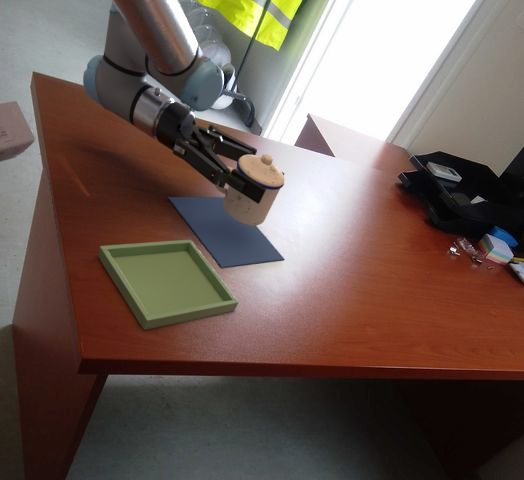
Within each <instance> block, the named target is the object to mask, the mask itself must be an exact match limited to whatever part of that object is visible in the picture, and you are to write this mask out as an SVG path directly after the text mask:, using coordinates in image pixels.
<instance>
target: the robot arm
mask: <svg viewBox="0 0 524 480" xmlns="http://www.w3.org/2000/svg"><path fill="white" fill-rule="evenodd" d="M108 13H109V15H108V21H107V30H106V37H105V42H104V50H103V54H97V55H95V56H92V57H91V59H89V61H88V62H87V63H86V65H87V67H86V69H85V70H84V71H83V76H82V85H83V90H84V91H85V93H86V95H87V96H88V97H89V98H90V99H92V100H93V101H95V102H96V103H97V104H99V105H100V106H101V107H102V108H103V109H104V110H107V111H108V112H111V113H113V114H114V115H116V116H118V117H119V118H120V119H122V120H124V121H126V122H127V123H129V124H131V125H132V126H133V127H135V128H136V129H138V130H139V131H141V132H142V133H144V134H145V135H146V136H148V137H150V138H151V139H153V140H157V142H158V143H159V144H161V145H163V146H164V147H166V148H167V149H169V150H171V151H172V154H173V155H174V156H176V157H178V158H180V159H181V160H182V161H184V162H186V163H187V164H188V165H189V166H190V167H192V168H193V169H194V170H195V171H196V172H197V173H198V174H200V175H201V176H203V177H204V178H205V179H206V180H208V181H209V182H210V183H211V184H212V185H214V186H215V185H218V183H219V185H218V186H219V187H221V188H225V187H226V185H227V186H228V187H229V186H231V187H232V188H234V189H235V190H237V191H239V192H240V193H242V194H243V195H245V196H246V197H248V198H250V199H251V200H253V201H254V202H256V203H257V204H259V203H260V202H261V199H262V197H263V195H264V193H265V191H266V189H265V188H263V187H262V186H260V185H259V184H257V183H256V182H254V181H252V180H251V179H249V178H248V177H246V176H245V175H243V174H241V173H240V172H238V171H237V170H235V169H236V168H234V169H233V170H232V172H231V173H230V169H229V168H228V167H227V166H228V165H226V164H225V163H224V162H223V160H221V158H220V157H219V156H221V157H224V158H227V159H229V160H230V161H231V160H232V161H234V162H237V161H238V160H239V159H240V157H242V156H244V155H256V156H257V153H258V149H257V148H256V147H254V146H251V145H249V144H247V143H246V142H243V141H241V140H240V139H238V138H237V137H234V136H232V135H230V134H228V133H226V132H224V131H222V130H221V129H219V128H218V127H216V126H215V125H214V124H209V125H208V127H207V128H206V127H204V126H200V125H198V124H197V123H196V119H195V114H194V112H193V111H195V112H199V113H200V112H206V111H208V110H209V109H210V108H212V107H213V106H214V105H215V103H216V102H217V101H218V100H219V98H220V96H221V94H222V92H223V89H224V84H225V83H224V82H225V77H224V72H223V70H222V68H221V67H220V66H219V65H218V64H216V63H215V62H214V59H212V57H208V56H206V54H205V53H204V52H203V50H202V48H201V47H200V44H199V42H198V40H197V38H196V35H195V33H194V32H193V29H192V27H191V25H190V22H189V20H188V18H187V15H186V14H185V11H184V9H183V7H182V5H181V3H180V0H111V5H110V9H109V12H108ZM147 76H150V77H151V78H152V79H153V80H155V81H156V82H157V83H158V84H160V85H161V86H162V87H164V89H166V90H167V91H168V92H169V93H171V94H172V95H173V96H174V97H176V98H177V99H178V100H179V101H180V102H179V101H175V100H174V99H173V98H171V97H170V96H168V95H167V94H165V93H164V92H162V89H161V88H160V87H154V86H153V85H151V84H150V83H149V82H147ZM185 105H186V106H185ZM189 108H190V109H189ZM191 109H192V110H193V111H192V110H191ZM218 155H219V156H218ZM281 172H282V173H283V175H284V176H285V175H286V174H285V173H284V172H283V171H281Z"/></svg>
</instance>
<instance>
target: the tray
mask: <svg viewBox="0 0 524 480" xmlns="http://www.w3.org/2000/svg"><path fill="white" fill-rule="evenodd" d="M97 258H98V259H99V261H100V262H101V264H102V265H103V267H104V269H105V271H106V272H107V274H108V275H109V277H110V279H111V280H112V281H113V283H114V285H115V286H116V288H117V289H118V291H119V292H120V294H121V296H122V298H123V299H124V301H125V302H126V304H127V306H128V307H129V308H130V310H131V312H132V313H133V315H134V316H135V318H136V320H137V321H138V323H139V325H140V326H141V328H142V329H143V330H144V331H145V330H151V329H155V328H160V327H161V328H162V327H166V326H169V325H175V324H178V323H185V322H188V321H194V320H199V319H203V318H208V317H213V316H217V315H221V314H226V313H232V312H235V311H236V309H237V307H238V305H239V301H238V299H237V298H236V297H235V296H234V294H233V293H232V292H231V290H230V289H229V288H228V286H227V285H226V283H225V282H224V281H223V280H222V278H221V277H220V275H218V273H217V272H216V270H215V269H214V267H213V266H212V265H211V264H210V262H209V261H208V259H207V258H206V257H205V256H204V254H203V253H202V252H201V250H200V249H199V248H198V247H197V245H196V244H195V243H194V241H193V239H178V240H165V241H151V242H149V241H148V242H138V243H124V244H123V243H122V244H110V245H109V244H108V245H100V246H99V249H98V253H97Z"/></svg>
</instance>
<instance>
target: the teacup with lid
mask: <svg viewBox="0 0 524 480" xmlns="http://www.w3.org/2000/svg"><path fill="white" fill-rule="evenodd" d="M273 161H274V158H273V156H271V155H270V154H269V153H263V154H262V155H261V156H260V155H257V154H256V155H244V156H242V157H240V159H239V160H238V161H236V168H234V167H231V166H228V165H226V166H227V167H228V168H229V169H230V173H231V172H232V170H233V169H235V170H237V171H238V172H240V173H241V174H243V175H245V176H246V177H248V178H249V179H251V180H252V181H254V182H256V183H257V184H259V185H260V186H262V187H263V188H265V189H266V191H265V193H264V195H263V197H262V199H261V202H260V203H259V204H257V203H256V202H254V201H253V200H251V199H250V198H248V197H246V196H245V195H243V194H242V193H240V192H239V191H237V190H235V189H234V188H232V187H231V186H229V185H228V186H227V188H225V187H224V188H221V187H219V186H218V185H219V183H218V185H214V186H215V188H216V190H217V191H218V192H220V193H221V194H223V195H224V196H223V197H224V199H223V207H224V209H225V211H226V212H227V213H228V214H229V215H230V216H231V217H232V218H234V219H235V220H237V221H239V222H241V223H243V224H247V225H256V226H260V225H262V224H263V223H264V222H265V220H266V218H267V216H268V214H269V213H270V211H271V209H272V206H273V205H274V202H275V200H276V198H277V197H278V195H279V192H280V191H281V189H282V188H283V187H284V185H285V174H284V175H283V173H284V172H283V171H282V170H281V169H280V168H279V167H278V166H277V165H275V163H274V162H273ZM282 172H283V173H282Z"/></svg>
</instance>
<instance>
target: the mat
mask: <svg viewBox="0 0 524 480" xmlns="http://www.w3.org/2000/svg"><path fill="white" fill-rule="evenodd" d="M224 197H225V196H205V197H204V196H183V197H182V196H168V197H167V199H168V201H169V202H170V204H171V205H172V206H173V207H174V209H175V210H176V211H177V213H178V214H179V215H180V217H181V218H182V219H183V221H184V222H185V223H186V224H187V225H188V227H189V229H190V230H191V231H192V232H193V234H194V235H195V236H196V237H197V239H198V240H199V241H200V242H201V244H202V245H203V246H204V248H205V249H206V250H207V252H208V253H209V254H210V256H212V258H213V260H214V261H215V262H216V264H218V266H219V267H220V269H226V268H233V267H241V266H250V265H257V264H264V263H272V262H279V261H281V262H282V261H285V258H284V256H283V255H282V254H281V253H280V252H279V250H278V249H277V248H276V247H275V245H274V244H273V243H271V241H270V240H269V238H267V236H266V235H265V234H264V233H263V232H262V230H261V229H260V228H259V227H258V225H247V224H243V223H241V222H239V221H237V220H235V219H234V218H232V217H231V216H230V215H229V214H228V213H227V212H226V211H225V209H224V207H223V199H224Z"/></svg>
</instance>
